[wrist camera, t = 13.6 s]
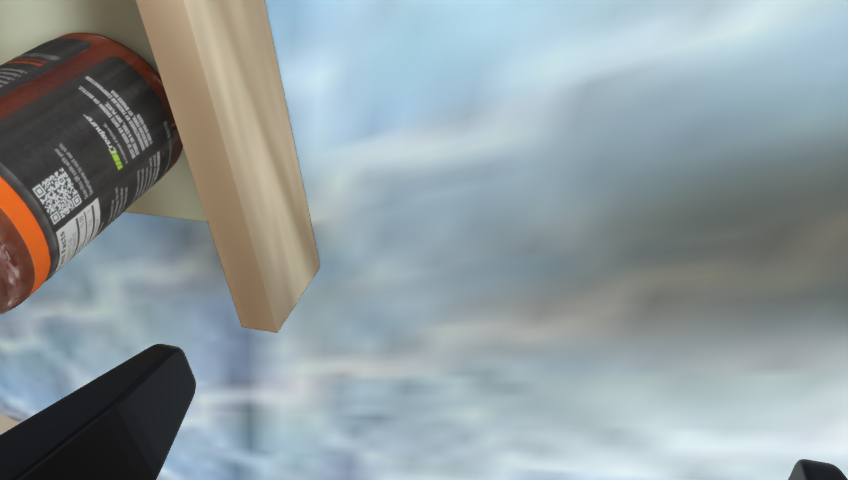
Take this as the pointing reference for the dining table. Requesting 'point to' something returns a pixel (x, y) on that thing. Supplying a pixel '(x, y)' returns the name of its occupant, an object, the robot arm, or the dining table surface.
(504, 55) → the dining table surface
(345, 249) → the dining table surface
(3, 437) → the robot arm
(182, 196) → the arena
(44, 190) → the supplement bottle
